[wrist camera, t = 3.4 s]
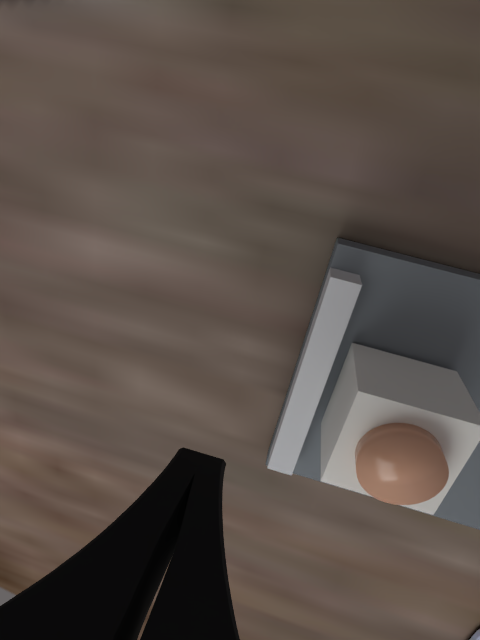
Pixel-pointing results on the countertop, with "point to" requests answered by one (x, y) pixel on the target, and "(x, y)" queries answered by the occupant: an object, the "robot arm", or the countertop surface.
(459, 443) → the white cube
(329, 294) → the rail mat
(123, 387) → the countertop surface
